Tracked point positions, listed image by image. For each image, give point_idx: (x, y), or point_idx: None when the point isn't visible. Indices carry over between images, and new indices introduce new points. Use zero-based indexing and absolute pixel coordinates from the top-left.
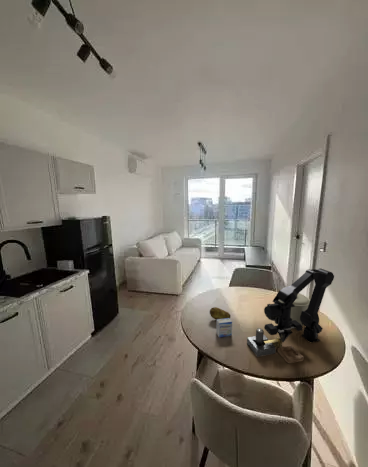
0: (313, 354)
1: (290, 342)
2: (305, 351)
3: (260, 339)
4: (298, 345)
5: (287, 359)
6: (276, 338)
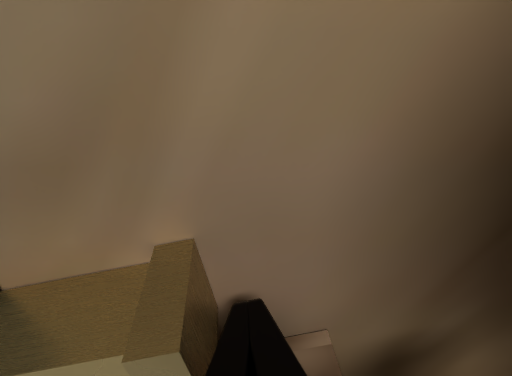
0: (495, 370)
1: (414, 222)
2: (458, 346)
3: None
4: (473, 273)
5: None
6: (132, 341)
